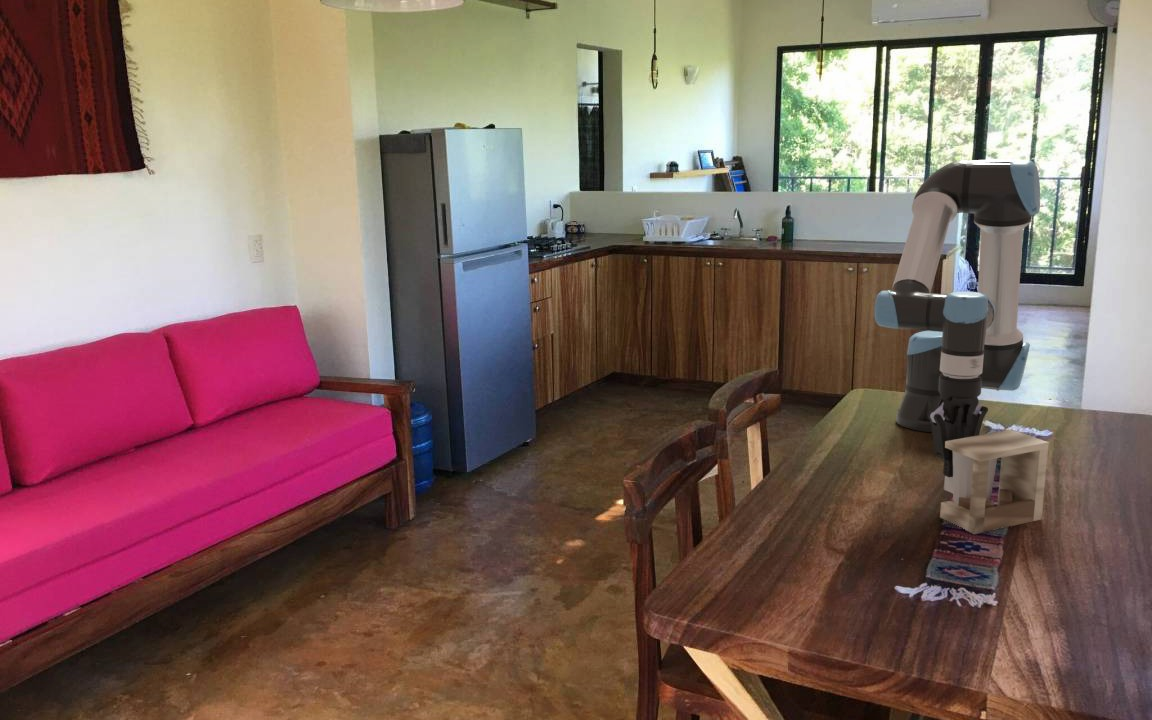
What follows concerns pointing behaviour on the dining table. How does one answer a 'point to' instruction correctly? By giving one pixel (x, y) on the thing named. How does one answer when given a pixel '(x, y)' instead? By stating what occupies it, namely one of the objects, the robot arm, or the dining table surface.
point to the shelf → (1000, 481)
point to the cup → (968, 476)
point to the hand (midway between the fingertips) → (951, 491)
